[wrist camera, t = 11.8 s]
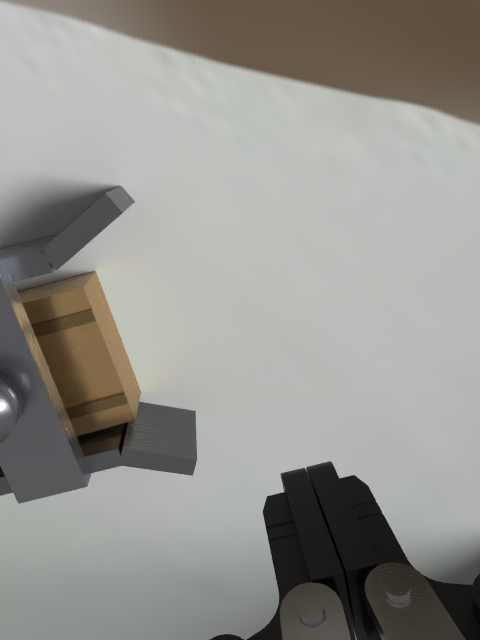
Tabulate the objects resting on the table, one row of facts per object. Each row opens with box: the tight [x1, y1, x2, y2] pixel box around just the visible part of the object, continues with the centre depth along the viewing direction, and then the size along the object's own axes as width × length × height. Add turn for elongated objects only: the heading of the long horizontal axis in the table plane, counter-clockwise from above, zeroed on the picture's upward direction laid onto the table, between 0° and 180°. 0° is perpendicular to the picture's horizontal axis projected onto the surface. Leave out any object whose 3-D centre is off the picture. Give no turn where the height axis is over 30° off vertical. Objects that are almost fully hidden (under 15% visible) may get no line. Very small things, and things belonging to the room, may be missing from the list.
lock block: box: [18, 271, 141, 436], centre depth 29 cm, size 8×9×4 cm
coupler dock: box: [0, 186, 197, 503], centre depth 26 cm, size 16×17×9 cm
